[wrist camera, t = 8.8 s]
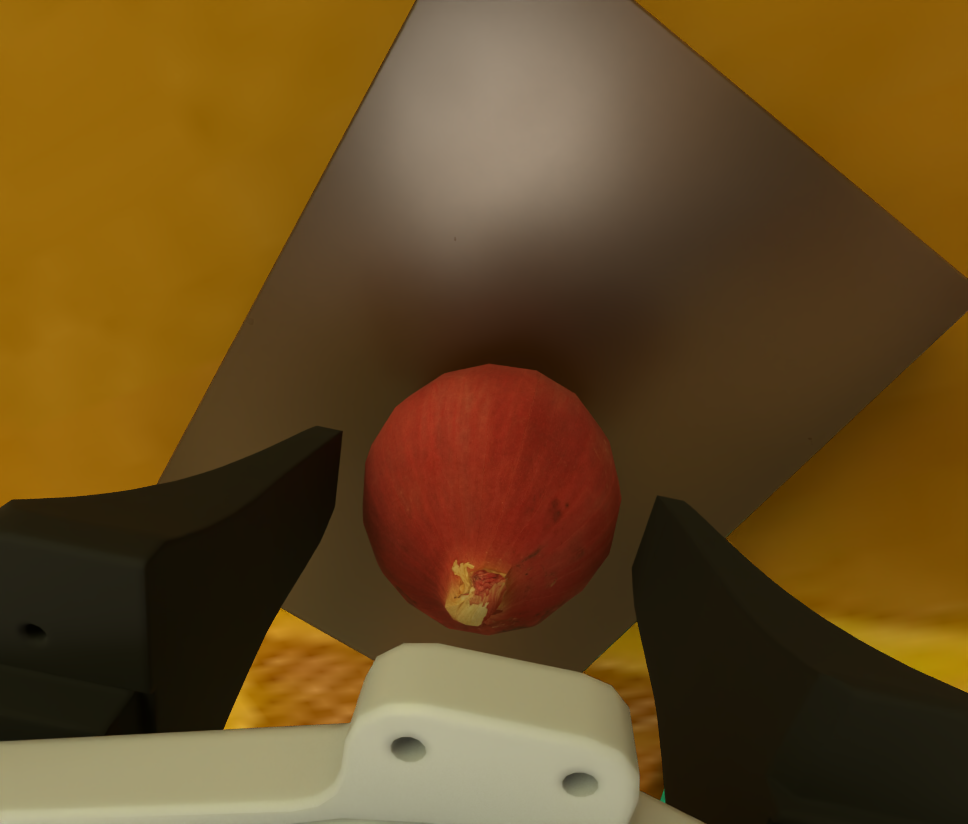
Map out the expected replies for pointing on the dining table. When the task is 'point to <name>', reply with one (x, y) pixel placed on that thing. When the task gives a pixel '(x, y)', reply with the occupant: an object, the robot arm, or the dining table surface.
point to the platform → (570, 289)
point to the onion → (490, 498)
